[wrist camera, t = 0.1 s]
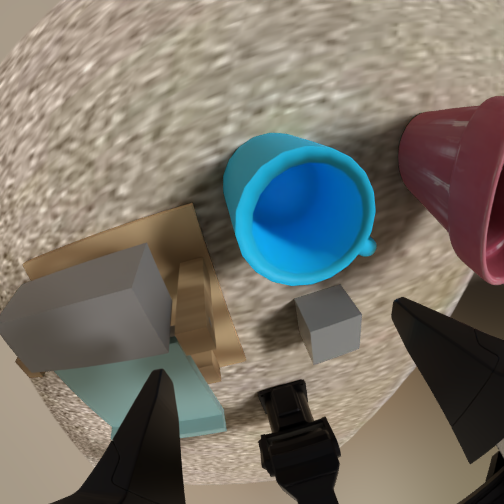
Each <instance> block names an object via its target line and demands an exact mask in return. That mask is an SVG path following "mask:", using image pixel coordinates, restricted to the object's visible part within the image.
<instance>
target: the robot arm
mask: <svg viewBox="0 0 504 504" xmlns="http://www.w3.org/2000/svg"><path fill="white" fill-rule="evenodd" d="M391 316H392V321H393V323H394V325H395V327H396V329H397V331H398V333H399V335H400V337H401V339H402V341H403V343H404V345H405V347H406V349H407V351H408V353H409V354H410V356H411V357H412V359H413V361H414V362H415V364H416V366H417V367H418V369H419V371H420V372H421V374H422V375H423V377H424V379H425V381H426V382H427V384H428V386H429V387H430V389H431V391H432V393H433V394H434V396H435V398H436V400H437V401H438V403H439V405H440V407H441V409H442V410H443V412H444V414H445V416H446V418H447V420H448V421H449V424H450V425H451V427H452V429H453V431H454V433H455V435H456V437H457V439H458V441H459V443H460V445H461V447H462V449H463V451H464V453H465V455H466V458H467V460H468V462H469V463H470V464H471V463H473V462H474V461H476V460H477V459H479V458H480V457H481V456H482V455H484V454H485V453H487V452H488V451H489V450H490V449H492V448H493V447H494V446H495V445H496V446H497V447H498V449H499V451H498V452H497V453H496V454H494V455H493V456H492V459H491V463H490V467H489V471H488V475H487V477H486V482H485V483H484V484H483V485H481V486H480V487H479V488H478V489H476V490H475V491H474V492H472V493H471V494H470V495H468V496H467V497H466V498H464V499H463V500H462V501H460V502H459V503H457V504H504V340H501V339H499V338H496V337H493V336H491V335H488V334H486V333H484V332H481V331H479V330H477V329H474V328H472V327H470V326H468V325H466V324H464V323H461V322H459V321H457V320H455V319H453V318H450V317H448V316H446V315H444V314H441V313H439V312H437V311H435V310H432V309H430V308H428V307H425V306H423V305H421V304H419V303H416V302H414V301H412V300H409V299H407V298H405V297H401V298H398V299H396V300H394V302H393V307H392V314H391ZM258 397H259V399H260V402H261V404H262V406H263V409H264V411H265V414H267V415H268V419H269V423H270V427H271V431H272V433H270V434H266V435H265V434H263V435H261V439H260V440H259V441H258V443H259V447H260V453H261V465H262V468H264V469H265V470H267V472H268V473H269V474H270V476H271V477H274V476H275V477H276V481H277V483H278V484H279V486H280V487H281V488H282V490H283V491H284V492H286V493H287V494H288V495H289V496H291V497H292V498H293V499H294V500H296V501H297V502H298V504H339V503H338V501H337V498H336V495H335V493H334V486H335V483H336V479H337V476H338V471H339V464H340V463H339V460H338V458H339V457H340V456H341V453H340V448H339V445H338V442H337V439H336V437H335V435H334V433H333V431H332V429H331V427H330V425H329V423H328V421H327V419H326V417H322V418H321V419H318V420H315V421H314V419H313V417H312V414H311V411H310V408H309V406H308V403H307V402H308V398H307V390H306V383H305V381H304V380H300V381H296V382H293V383H290V384H286V385H283V386H280V387H276V388H272V389H269V390H265V391H261V392H259V393H258ZM50 504H186V503H185V494H184V484H183V473H182V461H181V447H180V429H179V417H178V410H177V404H176V398H175V391H174V384H173V382H172V380H171V378H170V377H169V376H168V374H167V373H166V371H165V370H164V369H162V368H161V369H155V370H153V371H152V372H151V373H150V375H149V377H148V379H147V380H146V382H145V384H144V385H143V387H142V389H141V390H140V392H139V394H138V396H137V397H136V399H135V401H134V402H133V404H132V406H131V408H130V409H129V411H128V413H127V415H126V416H125V418H124V420H123V421H122V423H121V425H120V427H119V428H118V430H117V432H116V434H115V436H114V437H113V441H111V442H110V444H109V446H108V448H107V449H106V451H105V453H104V454H103V456H102V458H101V459H100V461H99V462H98V464H97V465H96V467H95V468H94V469H93V471H92V472H91V474H90V475H89V477H88V478H87V480H86V481H85V482H84V484H83V485H82V486H81V488H80V489H79V490H78V491H76V492H75V493H74V494H72V495H70V496H68V497H65V498H63V499H60V500H58V501H56V502H53V503H50Z"/></svg>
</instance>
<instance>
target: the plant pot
mask: <svg viewBox="0 0 504 504" xmlns="http://www.w3.org/2000/svg"><path fill="white" fill-rule="evenodd" d="M398 162H399V170H400V174H401V177H402V180H403V182H404V184H405V186H406V187H407V188H408V190H409V191H410V192H411V193H412V194H413V195H414V196H415V197H416V198H417V199H418V200H419V201H420V202H421V203H422V204H423V205H424V206H425V208H426V209H427V210H428V211H429V212H430V213H431V214H432V215H433V216H434V217H435V218H436V219H437V220H438V222H439V223H440V224H441V225H442V226H443V227H444V228H445V229H446V230H447V232H448V233H449V236H450V241H451V244H452V247H453V249H454V251H455V253H456V254H457V256H458V257H459V258H460V259H461V260H462V261H463V262H464V263H465V264H466V265H467V266H468V267H469V268H471V269H472V270H473V271H474V272H475V273H476V274H478V275H479V276H480V277H481V278H483V279H484V280H485V281H486V282H488V283H489V284H492V285H500V284H503V283H504V96H495V97H491V98H489V99H487V100H486V101H484V102H483V103H482V104H481V105H480V106H471V107H461V108H452V109H445V110H439V111H429V112H424V113H421V114H419V115H417V116H416V117H415V118H413V119H412V120H411V121H410V123H409V124H408V125H407V127H406V129H405V130H404V133H403V135H402V138H401V141H400V145H399V152H398Z"/></svg>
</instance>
